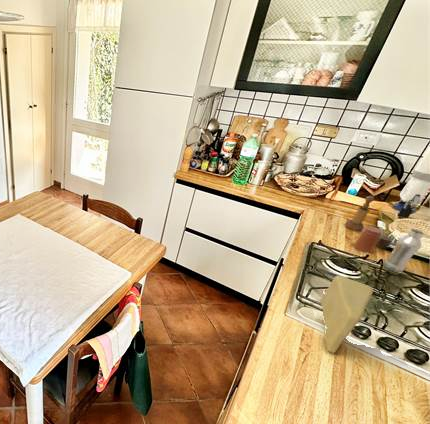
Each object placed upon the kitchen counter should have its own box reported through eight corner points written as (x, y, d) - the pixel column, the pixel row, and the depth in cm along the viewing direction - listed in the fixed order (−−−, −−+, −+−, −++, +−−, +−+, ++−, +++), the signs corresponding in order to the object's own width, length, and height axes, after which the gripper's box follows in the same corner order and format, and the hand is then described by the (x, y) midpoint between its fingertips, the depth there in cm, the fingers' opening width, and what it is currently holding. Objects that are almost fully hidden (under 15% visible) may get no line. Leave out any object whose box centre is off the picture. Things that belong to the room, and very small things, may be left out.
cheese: (351, 363, 90) (378, 328, 83) (310, 343, 96) (332, 309, 88) (352, 319, 105) (375, 286, 97) (317, 304, 110) (336, 272, 103)
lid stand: (386, 245, 144) (391, 237, 142) (388, 249, 141) (393, 241, 139) (373, 242, 147) (378, 234, 145) (374, 246, 144) (379, 238, 141)
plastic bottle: (393, 268, 129) (422, 228, 119) (403, 278, 123) (434, 237, 114) (374, 265, 131) (401, 225, 121) (383, 275, 125) (412, 234, 116)
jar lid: (389, 207, 136) (391, 204, 135) (397, 205, 139) (399, 202, 138) (409, 214, 131) (411, 211, 130) (417, 212, 133) (419, 208, 132)
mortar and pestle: (365, 231, 156) (384, 199, 147) (352, 230, 156) (370, 199, 147) (354, 224, 161) (371, 193, 153) (341, 224, 161) (358, 193, 153)
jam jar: (371, 247, 143) (383, 228, 138) (373, 254, 138) (385, 235, 133) (352, 242, 146) (363, 224, 141) (354, 249, 141) (365, 230, 136)
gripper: (408, 168, 135) (386, 204, 144) (417, 180, 123) (392, 218, 131) (432, 172, 131) (408, 208, 140) (444, 185, 119) (417, 224, 127)
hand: (400, 213), depth 135 cm, fingers closed on jar lid, 6 cm apart
